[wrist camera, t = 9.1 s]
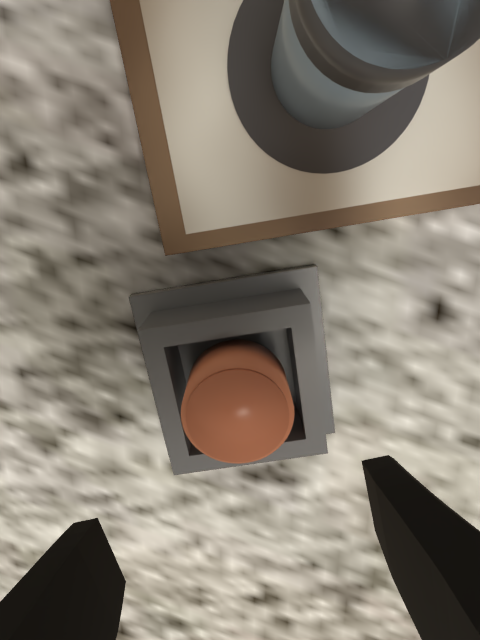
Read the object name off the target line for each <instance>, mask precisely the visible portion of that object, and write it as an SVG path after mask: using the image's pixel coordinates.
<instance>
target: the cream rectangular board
mask: <svg viewBox="0 0 480 640" xmlns="http://www.w3.org/2000/svg"><path fill="white" fill-rule="evenodd" d="M110 3H111V8H112V12H113V17H114V22H115V26H116V31H117V35H118V40H119V45H120V49H121V54H122V58H123V63H124V68H125V72H126V77H127V81H128V86H129V91H130V95H131V100H132V104H133V109H134V114H135V118H136V123H137V127H138V132H139V137H140V141H141V146H142V150H143V155H144V160H145V164H146V169H147V173H148V178H149V183H150V187H151V192H152V196H153V201H154V206H155V210H156V215H157V219H158V224H159V229H160V233H161V238H162V242H163V247H164V252H165V256H167V255H173V254H179V253H185V252H191V251H197V250H203V249H209V248H215V247H221V246H227V245H233V244H240V243H246V242H252V241H258V240H264V239H270V238H276V237H282V236H288V235H294V234H300V233H306V232H312V231H318V230H324V229H330V228H336V227H342V226H348V225H354V224H360V223H366V222H372V221H378V220H384V219H390V218H396V217H402V216H408V215H414V214H421V213H427V212H433V211H439V210H445V209H451V208H457V207H463V206H469V205H475V204H480V39H479V40H478V41H477V42H476V43H475V44H473V45H472V46H471V47H469V48H468V49H467V50H465V51H464V52H463V53H461V54H460V55H458V56H457V57H455V58H454V59H452V60H451V61H449V62H447V63H446V64H444V65H443V66H441V67H440V68H438V69H437V70H435V71H434V72H432V73H430V74H429V75H427V76H426V77H424V78H423V79H421V80H419V81H417V82H416V83H414V84H412V85H410V86H407V87H405V88H403V89H402V90H400V91H399V92H397V93H396V94H394V95H393V96H391V97H390V98H388V99H387V100H385V101H384V102H382V103H381V104H379V105H378V106H376V107H375V108H373V109H372V110H370V111H369V112H367V113H366V114H364V115H363V116H361V117H360V118H358V119H357V120H355V121H353V122H351V123H350V124H347V125H345V126H342V127H339V128H334V129H317V128H312V127H309V126H306V125H304V124H302V123H300V122H299V121H297V120H296V119H294V118H293V117H292V116H291V115H290V114H289V113H288V112H287V111H286V110H285V108H284V107H283V106H282V104H281V103H280V101H279V99H278V97H277V95H276V93H275V89H274V86H273V82H272V77H271V57H272V51H273V47H274V42H275V38H276V34H277V30H278V25H279V21H280V17H281V12H282V8H283V4H284V0H110Z"/></svg>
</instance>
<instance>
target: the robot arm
mask: <svg viewBox="0 0 480 640" xmlns="http://www.w3.org/2000/svg"><path fill="white" fill-rule="evenodd" d="M362 465H363V470H364V475H365V480H366V486H367V491H368V496H369V501H370V506H371V512H372V517H373V522H374V527H375V532H376V534H377V537H378V540H379V543H380V545H381V548H382V551H383V554H384V556H385V559H386V562H387V565H388V567H389V570H390V573H391V575H392V578H393V580H394V582H395V584H396V586H397V589H398V591H399V593H400V595H401V597H402V599H403V601H404V603H405V605H406V608H407V610H408V612H409V614H410V616H411V618H412V620H413V622H414V624H415V626H416V629H417V631H418V633H419V635H420V637H421V639H422V640H480V531H479V530H478V529H476V528H475V527H474V526H472V525H471V524H470V523H469V522H467V521H466V520H465V519H463V518H462V517H461V516H460V515H458V514H457V513H456V512H455V511H453V510H452V509H451V508H450V507H448V506H447V505H446V504H445V503H443V502H442V501H441V500H440V499H439V498H437V497H436V496H435V495H434V494H433V493H431V492H430V491H429V490H428V489H427V488H426V487H424V486H423V485H422V484H421V483H420V482H419V481H418V480H416V479H415V478H414V477H413V476H412V475H411V474H410V473H409V472H407V471H406V470H405V469H404V468H403V467H402V466H401V465H400V464H399V463H398V462H397V461H396V460H395V459H394V458H392V457H390V456H389V455H387V456H382V457H378V458H373V459H368V460H364V461H362ZM125 583H126V581H125V579H124V576H123V574H122V572H121V570H120V567H119V565H118V563H117V561H116V558H115V556H114V554H113V552H112V549H111V547H110V545H109V543H108V540H107V538H106V536H105V534H104V531H103V529H102V527H101V524H100V522H99V520H98V518H95V519H90V520H86V521H81V522H76V523H73V524H72V525H71V526H70V527H69V528H68V529H67V530H66V531H65V532H64V533H63V534H62V535H61V536H60V537H59V538H58V540H57V541H56V542H55V543H54V544H53V545H52V546H51V547H50V548H49V549H48V550H47V551H46V553H45V554H44V555H43V556H42V557H41V558H40V559H39V560H38V561H37V562H36V563H35V565H34V566H33V567H32V568H31V569H30V570H29V571H28V572H27V573H26V574H25V576H24V577H23V578H22V579H21V580H20V581H19V582H18V583H17V584H16V585H15V586H14V588H13V589H12V590H11V591H10V592H9V593H8V594H7V595H6V596H5V597H4V598H3V600H2V601H1V602H0V640H116V637H117V633H118V628H119V622H120V616H121V610H122V604H123V597H124V590H125Z"/></svg>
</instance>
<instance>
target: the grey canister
mask: <svg viewBox="0 0 480 640" xmlns="http://www.w3.org/2000/svg"><path fill="white" fill-rule="evenodd" d="M479 39H480V0H284V4H283V8H282V12H281V17H280V21H279V25H278V30H277V34H276V38H275V42H274V47H273V51H272V57H271V77H272V82H273V86H274V89H275V93H276V95H277V97H278V99H279V101H280V103H281V104H282V106H283V107H284V108H285V110H286V111H287V112H288V113H289V114H290V115H291V116H292V117H293V118H294V119H296V120H297V121H299V122H300V123H302V124H304V125H306V126H309V127H312V128H317V129H334V128H339V127H342V126H345V125H347V124H350V123H351V122H353V121H355V120H357V119H358V118H360V117H361V116H363V115H364V114H366V113H367V112H369V111H370V110H372V109H373V108H375V107H376V106H378V105H379V104H381V103H382V102H384V101H385V100H387V99H388V98H390V97H391V96H393V95H394V94H396V93H397V92H399V91H400V90H402V89H403V88H405V87H407V86H410V85H412V84H414V83H416V82H417V81H419V80H421V79H423V78H424V77H426V76H427V75H429V74H430V73H432V72H434V71H435V70H437V69H438V68H440V67H441V66H443V65H444V64H446V63H447V62H449V61H451V60H452V59H454V58H455V57H457V56H458V55H460V54H461V53H463V52H464V51H465V50H467V49H468V48H469V47H471V46H472V45H473V44H475V43H476V42H477V41H478V40H479Z"/></svg>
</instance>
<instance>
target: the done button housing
mask: <svg viewBox="0 0 480 640" xmlns="http://www.w3.org/2000/svg"><path fill="white" fill-rule="evenodd" d="M129 300H130V304H131V308H132V312H133V316H134V320H135V324H136V328H137V332H138V336H139V340H140V344H141V348H142V352H143V356H144V360H145V364H146V368H147V372H148V376H149V380H150V383H151V387H152V391H153V395H154V399H155V403H156V407H157V411H158V415H159V419H160V423H161V427H162V431H163V435H164V439H165V443H166V447H167V451H168V455H169V458H170V462H171V466H172V470H173V473H174V475H179V474H186V473H193V472H200V471H207V470H214V469H221V468H228V467H235V466H242V465H249V464H256V463H263V462H270V461H277V460H284V459H291V458H298V457H305V456H312V455H319V454H326V453H328V450H327V441H326V434H330V433H335V428H334V419H333V410H332V400H331V391H330V381H329V372H328V363H327V353H326V344H325V335H324V325H323V316H322V307H321V297H320V288H319V279H318V269H317V266H316V265H309V266H302V267H296V268H290V269H284V270H278V271H272V272H265V273H259V274H253V275H247V276H241V277H235V278H228V279H222V280H216V281H210V282H204V283H198V284H191V285H185V286H179V287H173V288H167V289H161V290H154V291H148V292H142V293H136V294H131V295H130V296H129ZM228 340H248V341H252V342H255V343H258V344H260V345H262V346H264V347H266V348H267V349H268V350H270V351H271V352H272V353H273V354H274V355H275V356H276V357H277V358H278V360H279V361H280V362H281V364H282V366H283V368H284V371H285V374H286V378H287V382H288V385H289V389H290V393H291V396H292V400H293V405H294V422H293V426H292V429H291V431H290V434H289V435H288V437H287V439H286V440H285V441H284V443H283V444H282V445H281V446H280V447H279V448H278V449H277V450H276V451H274V452H273V453H272V454H270V455H268V456H267V457H264V458H262V459H260V460H257V461H254V462H249V463H240V464H236V463H226V462H222V461H218V460H215V459H213V458H210V457H209V456H207V455H205V454H203V453H202V452H201V451H199V450H198V449H197V448H196V447H195V446H194V445H193V444H192V443H191V442H190V440H189V439H188V437H187V435H186V433H185V431H184V429H183V426H182V421H181V405H182V401H183V397H184V393H185V390H186V386H187V382H188V378H189V375H190V371H191V369H192V366H193V364H194V363H195V361H196V360H197V358H198V357H199V356H200V355H201V354H202V353H203V352H204V351H205V350H207V349H208V348H210V347H211V346H213V345H215V344H217V343H220V342H223V341H228Z"/></svg>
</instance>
